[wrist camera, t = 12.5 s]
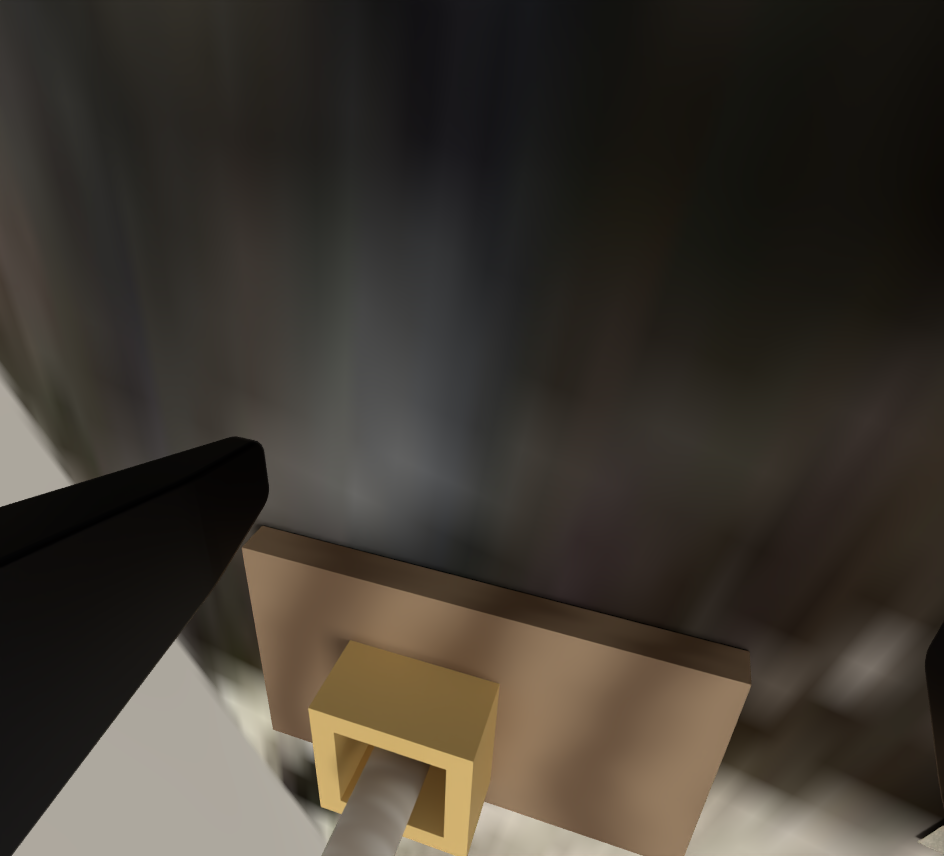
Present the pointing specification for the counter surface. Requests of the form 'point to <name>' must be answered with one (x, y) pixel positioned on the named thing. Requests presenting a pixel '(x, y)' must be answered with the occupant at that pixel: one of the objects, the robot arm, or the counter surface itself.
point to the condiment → (934, 840)
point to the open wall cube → (408, 737)
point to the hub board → (505, 693)
